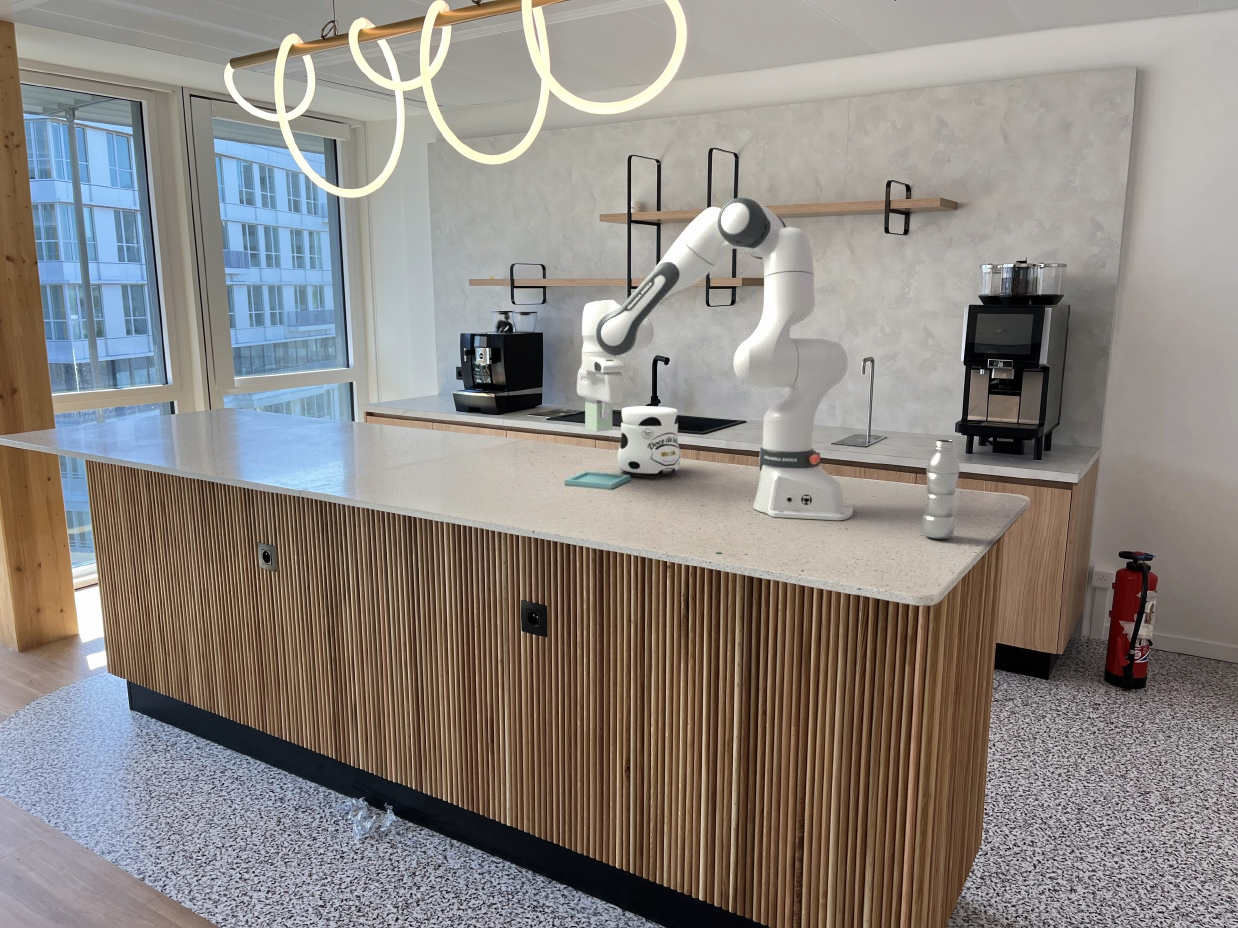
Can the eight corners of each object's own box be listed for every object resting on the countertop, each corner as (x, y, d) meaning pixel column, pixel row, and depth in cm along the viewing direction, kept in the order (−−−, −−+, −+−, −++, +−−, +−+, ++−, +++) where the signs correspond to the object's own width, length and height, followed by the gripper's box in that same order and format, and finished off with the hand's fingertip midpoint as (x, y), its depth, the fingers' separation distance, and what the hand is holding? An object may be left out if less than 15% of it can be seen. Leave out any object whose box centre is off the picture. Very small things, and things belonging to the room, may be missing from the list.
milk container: (673, 482, 236) (674, 414, 232) (610, 478, 240) (610, 411, 237) (685, 470, 252) (687, 407, 249) (626, 467, 256) (627, 404, 253)
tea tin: (612, 430, 231) (612, 398, 229) (596, 431, 227) (596, 400, 226) (600, 427, 235) (600, 397, 233) (584, 429, 232) (584, 398, 230)
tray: (629, 480, 237) (629, 475, 237) (611, 489, 225) (611, 484, 225) (585, 476, 242) (585, 471, 241) (564, 485, 230) (564, 479, 229)
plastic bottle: (916, 539, 180) (923, 441, 177) (925, 532, 186) (932, 437, 182) (949, 543, 177) (957, 444, 173) (957, 536, 182) (965, 440, 179)
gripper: (570, 361, 236) (570, 413, 238) (605, 366, 218) (605, 422, 220) (592, 360, 238) (592, 411, 241) (628, 365, 221) (627, 421, 223)
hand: (598, 417), depth 230 cm, fingers closed on tea tin, 5 cm apart
